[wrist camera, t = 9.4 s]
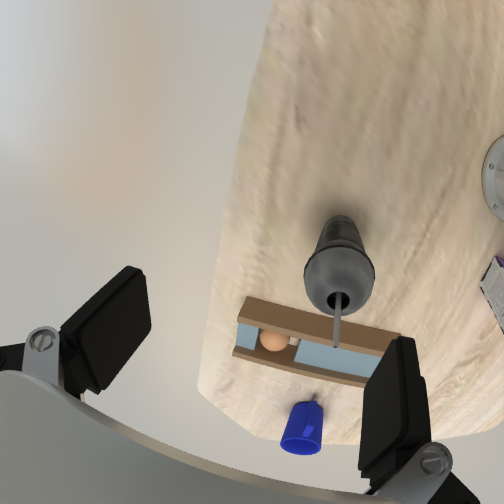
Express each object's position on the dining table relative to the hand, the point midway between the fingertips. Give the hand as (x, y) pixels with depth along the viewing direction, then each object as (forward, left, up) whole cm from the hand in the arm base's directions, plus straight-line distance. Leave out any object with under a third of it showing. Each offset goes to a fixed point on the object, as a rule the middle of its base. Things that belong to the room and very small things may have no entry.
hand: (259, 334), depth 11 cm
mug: (-11, +47, -30) cm, 57 cm away
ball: (0, +27, -27) cm, 38 cm away
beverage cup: (-5, +8, -30) cm, 31 cm away
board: (-7, +27, -30) cm, 41 cm away
